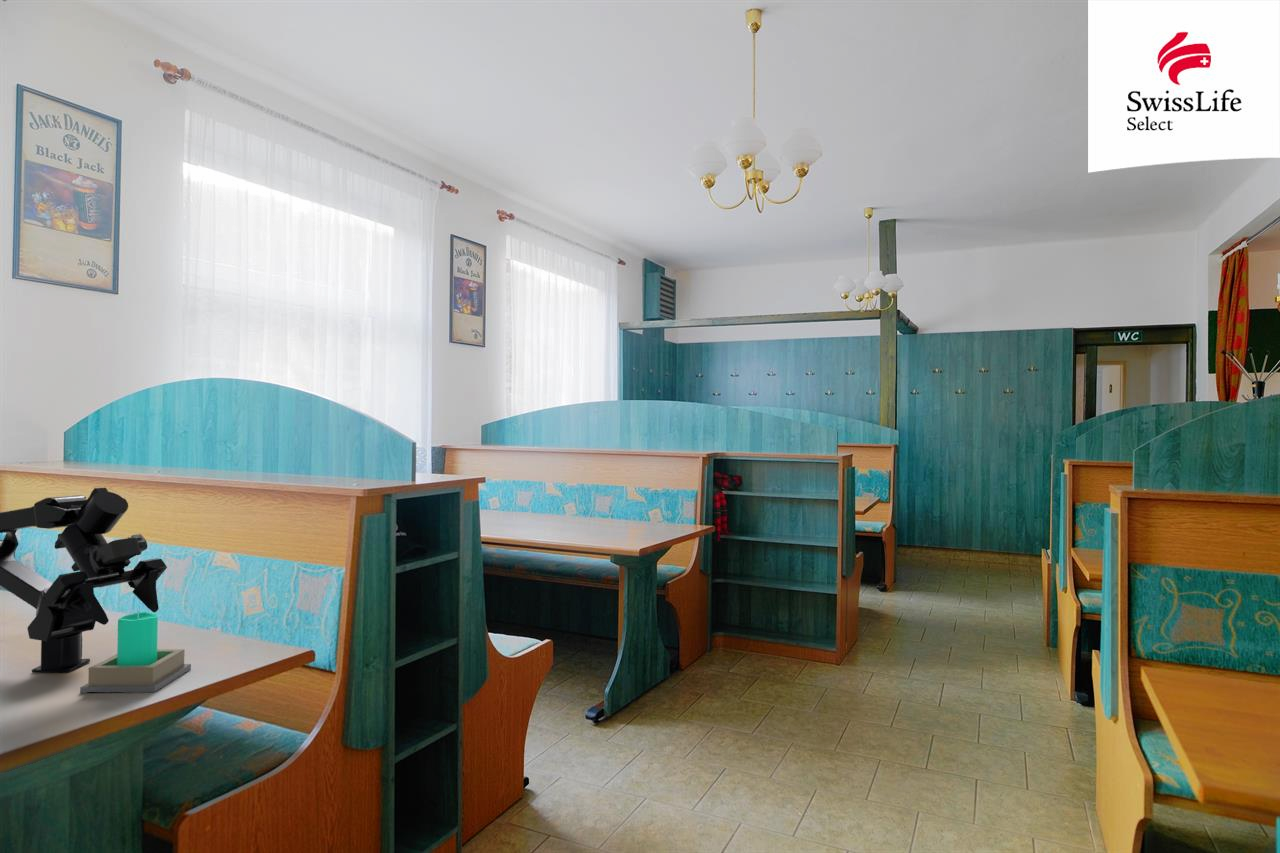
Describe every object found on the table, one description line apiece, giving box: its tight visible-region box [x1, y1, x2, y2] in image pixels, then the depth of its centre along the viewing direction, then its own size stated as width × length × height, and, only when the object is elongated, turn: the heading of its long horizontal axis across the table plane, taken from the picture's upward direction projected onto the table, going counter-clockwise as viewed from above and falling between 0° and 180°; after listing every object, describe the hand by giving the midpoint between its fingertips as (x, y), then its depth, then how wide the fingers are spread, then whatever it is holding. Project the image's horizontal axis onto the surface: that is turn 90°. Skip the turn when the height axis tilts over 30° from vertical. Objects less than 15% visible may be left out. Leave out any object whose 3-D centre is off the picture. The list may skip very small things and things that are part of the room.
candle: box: [116, 607, 159, 666], centre depth 132 cm, size 6×6×12 cm
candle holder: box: [79, 648, 192, 694], centre depth 132 cm, size 12×12×4 cm
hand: (132, 616), depth 132 cm, fingers open, 9 cm apart
